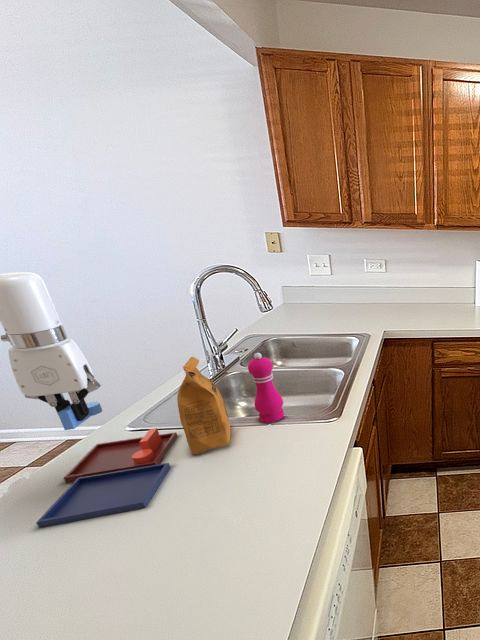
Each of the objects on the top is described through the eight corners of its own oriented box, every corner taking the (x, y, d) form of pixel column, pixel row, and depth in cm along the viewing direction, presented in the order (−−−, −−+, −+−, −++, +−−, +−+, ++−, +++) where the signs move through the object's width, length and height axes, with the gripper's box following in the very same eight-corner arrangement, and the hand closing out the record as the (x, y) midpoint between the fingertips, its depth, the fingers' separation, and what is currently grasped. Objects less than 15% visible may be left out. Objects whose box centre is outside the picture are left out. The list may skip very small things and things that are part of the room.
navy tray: (38, 528, 76) (35, 522, 76) (80, 482, 88) (77, 477, 88) (145, 507, 81) (143, 502, 81) (170, 467, 93) (168, 462, 93)
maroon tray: (65, 483, 88) (63, 477, 88) (98, 448, 100) (96, 443, 100) (157, 467, 93) (155, 462, 92) (177, 436, 105) (176, 432, 104)
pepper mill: (252, 422, 112) (235, 356, 104) (270, 409, 118) (255, 347, 110) (274, 425, 110) (258, 359, 102) (291, 412, 116) (278, 349, 109)
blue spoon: (80, 427, 82) (74, 410, 81) (57, 431, 81) (50, 413, 80) (105, 408, 91) (100, 392, 90) (85, 411, 90) (79, 395, 89)
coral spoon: (149, 443, 101) (144, 429, 100) (167, 440, 103) (162, 427, 101) (131, 466, 93) (125, 452, 91) (150, 463, 94) (145, 449, 92)
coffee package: (236, 424, 110) (215, 351, 102) (233, 447, 100) (210, 368, 92) (193, 433, 106) (168, 357, 98) (186, 458, 96) (157, 376, 88)
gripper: (-30, 349, 72) (17, 435, 79) (78, 338, 76) (113, 421, 83) (0, 336, 78) (41, 416, 85) (98, 327, 83) (129, 404, 90)
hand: (76, 418), depth 84 cm, fingers closed on blue spoon, 1 cm apart
